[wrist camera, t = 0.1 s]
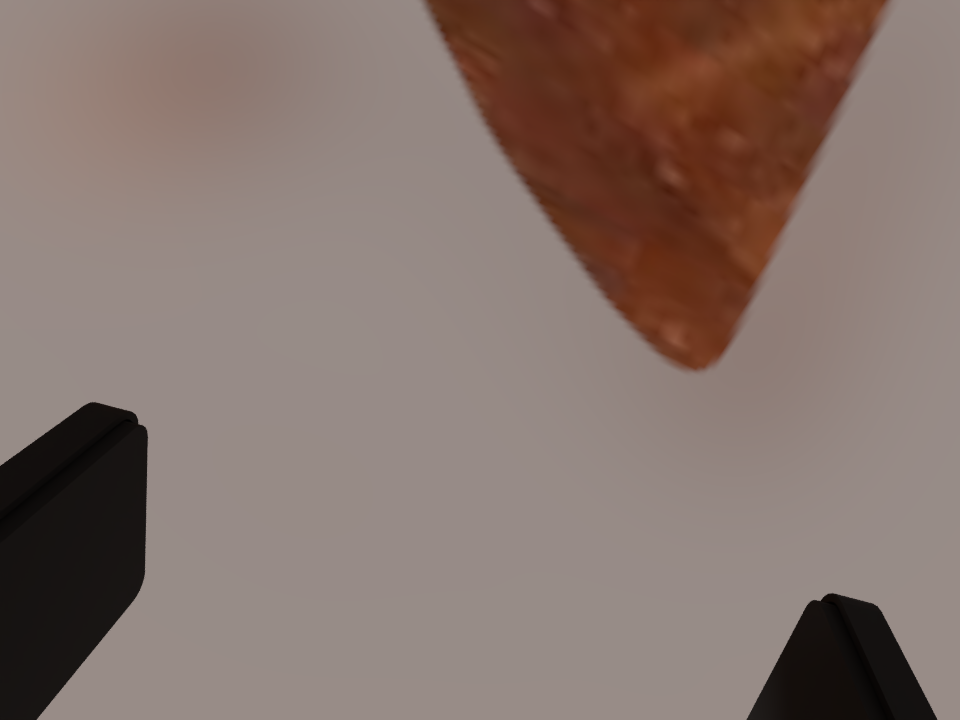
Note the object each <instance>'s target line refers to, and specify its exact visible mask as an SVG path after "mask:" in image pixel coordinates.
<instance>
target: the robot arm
mask: <svg viewBox="0 0 960 720" xmlns="http://www.w3.org/2000/svg"><path fill="white" fill-rule="evenodd" d="M147 446H148V435H147V430H146V428H145V427H144V426H143V425H139V424H138V419H137V416H136V414H134V413H133V412H131V411H127V410H123V409H119V408H115V407H111V406H108V405H104V404H100V403H96V402H92V403H88V404H86V405H84V406H83V407H81V408H80V409H79V410H77V411H76V412H75V413H73V414H72V415H70V416H69V417H68V418H66V419H65V420H63V421H62V422H61V423H60V424H58V425H56V426H55V427H54V428H52V429H51V430H50V431H48V432H47V433H45V434H44V435H43V436H41V437H40V438H38V439H37V440H36V441H34V442H33V443H32V444H30V445H29V446H27V447H26V448H24V449H23V450H22V451H20V452H19V453H18V454H16V455H15V456H13V457H12V458H11V459H9V460H8V461H6V462H5V463H4V464H2V465H1V466H0V720H37V718H38V717H39V716H40V715H41V714H42V712H43V711H44V710H45V709H46V707H47V706H48V705H49V704H50V702H51V701H52V700H53V699H54V697H55V696H56V695H57V694H58V693H59V691H60V690H61V689H62V688H63V687H64V685H65V684H66V683H67V681H68V680H69V679H70V678H71V677H72V675H73V674H74V673H75V672H76V670H77V669H78V668H79V667H80V666H81V664H82V663H83V662H84V661H85V659H86V658H87V657H88V656H89V655H90V653H91V652H92V651H93V650H94V648H95V647H96V646H97V645H98V644H99V642H100V641H101V640H102V638H103V637H104V636H105V635H106V634H107V633H108V631H109V630H110V629H111V628H112V626H113V625H114V624H115V623H116V621H117V620H118V619H119V618H120V617H121V615H122V614H123V613H124V612H125V610H126V609H127V608H128V607H129V606H130V604H131V603H132V602H133V601H134V599H135V598H136V596H137V594H138V593H139V591H140V588H141V586H142V583H143V580H144V575H145V541H146V538H145V537H146V493H147V492H146V491H147ZM747 720H937V718H936V716H935V714H934V713H933V710H932V708H931V706H930V704H929V703H928V701H927V698H926V697H925V695H924V693H923V691H922V689H921V687H920V685H919V683H918V681H917V679H916V677H915V675H914V674H913V671H912V670H911V668H910V666H909V664H908V662H907V660H906V658H905V656H904V654H903V652H902V650H901V648H900V646H899V644H898V643H897V641H896V639H895V637H894V635H893V633H892V631H891V629H890V627H889V625H888V623H887V621H886V620H885V618H884V616H883V614H882V612H881V610H880V609H879V608H878V606H876V605H874V604H872V603H868V602H864V601H860V600H857V599H853V598H849V597H845V596H841V595H838V594H833V593H832V594H827V595H826V596H824V597H823V599H822V600H821V601H817V600H813V601H811V602H810V603H809V604H808V605H807V606H806V608H805V610H804V612H803V614H802V616H801V618H800V620H799V621H798V623H797V625H796V627H795V629H794V631H793V633H792V635H791V636H790V639H789V640H788V642H787V644H786V646H785V648H784V650H783V652H782V654H781V655H780V658H779V659H778V661H777V663H776V665H775V667H774V669H773V671H772V673H771V674H770V676H769V678H768V680H767V682H766V684H765V686H764V688H763V690H762V692H761V693H760V695H759V697H758V699H757V701H756V703H755V705H754V707H753V709H752V711H751V712H750V714H749V716H748V718H747Z"/></svg>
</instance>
